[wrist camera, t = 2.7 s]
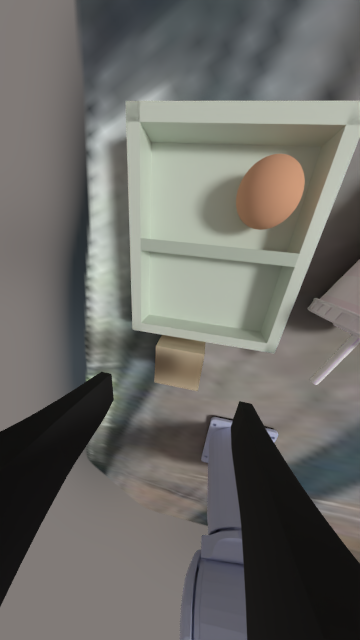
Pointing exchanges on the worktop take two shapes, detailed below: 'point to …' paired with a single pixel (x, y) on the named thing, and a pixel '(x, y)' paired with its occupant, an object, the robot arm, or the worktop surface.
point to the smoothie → (340, 316)
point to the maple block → (179, 362)
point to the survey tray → (226, 213)
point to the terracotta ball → (270, 191)
